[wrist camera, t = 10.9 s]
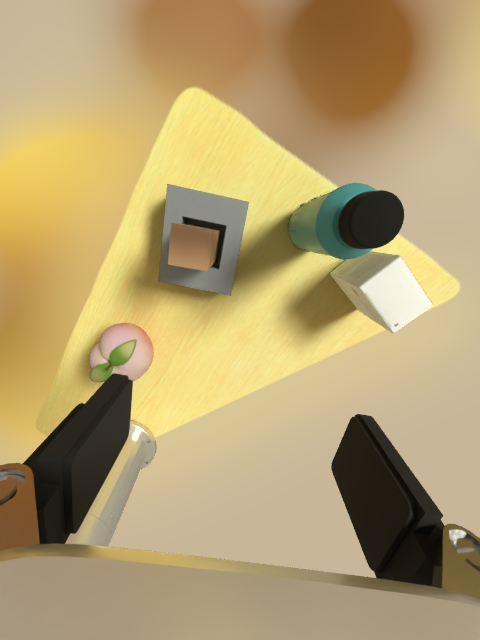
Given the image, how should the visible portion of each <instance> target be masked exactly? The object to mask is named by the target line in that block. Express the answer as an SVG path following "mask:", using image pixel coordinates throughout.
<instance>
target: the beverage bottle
mask: <svg viewBox="0 0 480 640" xmlns="http://www.w3.org/2000/svg"><path fill="white" fill-rule="evenodd" d="M329 192H330V191H329ZM290 217H291V218H290V221H288V222H289V223H288V231H289V236H290V238H291V240H292V242H293V243H294V244H295V245H296V246H297V247H298V248H299V249H300V248H301V249H300V250H303V249H304V251H305V250H306V251H307V250H308V251H309V252H311V251H312V252H315V253H320V254H325V255H330V256H333V257H335V258H339V259H354V258H358V257H361V256H363V255H365V254H366V253H368V252H369V251H371V250H372V249H373V248H378V247H381V246H384V245H386V244H387V243H389V242H390V241H391V240H393V239H394V238H395V236H396V235H397V234H398V232H399V231H400V229H401V227H402V224H403V220H404V209H403V206H402V203H401V201H400V200H399V199H398V197H397V196H395V195H394V194H392V193H390V192H387V191H377V190H375V189H374V188H372V187H371V186H368V185H366V184H361V183H352V184H348V185H344V186H342V187H339V188H337V189H336V190H334V191H332V192H330V193H328V194H325V195H322V196H321V195H320V197H317V198H314V200H313V199H312V201H311V200H310V202H308V203H306V204H304V205H303V204H302V206H301V205H300V207H299V208H297V209H296V210H295V211H294V213H293V214H292V216H290ZM295 245H294V246H295Z"/></svg>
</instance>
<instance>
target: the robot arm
mask: <svg viewBox="0 0 480 640" xmlns="http://www.w3.org/2000/svg"><path fill="white" fill-rule="evenodd" d="M132 385H133V381H132V380H129V377H128V376H127V375H122V374H116V373H113V374H112V375H111V376H110V377H109V378H108V379H107V380H106V381H105V382H104V383H103V384H102V386H101V387H100V388H99V389H98V390H97V391H96V392H95V393H94V395H93V396H92V397H91V398H90V399H89V400H88V401H87V402H86V404H83V403H81V404H79V405H77V406H76V407H75V408H74V409H73V410H72V411H71V413H70V414H69V415H68V416H67V417H66V418H65V419H64V420H63V421H62V422H61V423H60V424H59V425H58V426H57V428H56V429H55V430H54V431H53V432H52V433H51V434H50V435H49V436H48V437H47V438H46V439H45V440H44V442H43V443H42V444H41V445H40V446H39V447H38V448H37V449H36V450H35V451H34V452H33V453H32V455H30V457H29V458H28V459H27V460H26V461H25V462H24V463H23V464H20V463H11V464H10V463H9V464H5V465H0V640H480V538H478V537H477V536H476V535H475V534H473V533H472V532H470V531H469V530H467V529H465V528H463V527H461V526H458V525H456V524H447V525H445V526H444V524H443V523H442V521H441V518H442V517H443V515H442V513H441V512H440V510H439V509H438V508H437V506H436V505H435V503H434V502H433V501H432V499H431V498H430V496H429V495H428V494H427V492H426V491H425V489H424V488H423V487H422V485H421V484H420V482H419V481H418V480H417V478H416V477H415V476H414V474H413V473H412V471H411V470H410V469H409V467H408V466H407V465H406V463H405V462H404V460H403V459H402V457H401V456H400V455H399V453H398V452H397V450H396V449H395V448H394V446H393V445H392V443H391V442H390V441H389V439H388V438H387V437H386V435H385V434H384V432H383V431H382V430H381V428H380V427H379V425H378V424H377V423H376V421H375V420H374V418H372V417H371V416H367V415H361V414H357V415H355V417H352V418H351V420H350V422H349V424H348V426H347V429H346V431H345V433H344V436H343V438H342V440H341V443H340V445H339V448H338V450H337V452H336V454H335V457H334V459H333V461H332V472H333V475H334V478H335V480H336V483H337V485H338V488H339V490H340V493H341V495H342V498H343V501H344V503H345V506H346V509H347V511H348V514H349V516H350V519H351V522H352V524H353V526H354V529H355V532H356V535H357V537H358V539H359V542H360V545H361V547H362V550H363V552H364V555H365V557H366V560H367V563H368V565H369V567H370V568H371V569H372V570H373V571H374V572H375V575H376V577H377V578H370V577H362V576H354V575H346V574H338V573H331V572H323V571H315V570H307V569H299V568H291V567H283V566H275V565H266V564H258V563H250V562H241V561H233V560H225V559H216V558H207V557H199V556H190V555H182V554H173V553H164V552H155V551H146V550H137V549H127V548H115V547H108V545H109V543H110V541H111V538H112V536H113V534H114V531H115V529H116V527H117V524H118V522H119V519H120V517H121V515H122V512H123V510H124V507H125V505H126V503H127V500H128V498H129V495H130V493H131V491H132V488H133V486H134V483H135V481H136V479H137V476H138V474H139V471H140V469H142V468H145V467H146V466H147V465H149V464H150V463H151V461H152V460H153V458H154V456H155V453H156V441H155V439H154V437H153V435H152V434H151V432H150V431H149V430H148V429H147V428H145V427H144V426H143V425H141V424H139V423H137V422H134V421H132V420H130V415H131V400H132Z"/></svg>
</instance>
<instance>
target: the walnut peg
mask: <svg viewBox="0 0 480 640" xmlns="http://www.w3.org/2000/svg"><path fill="white" fill-rule="evenodd" d="M220 236H221V231H220V230H214V229H209V228H204V227H199V226H193V225H186V224H178V223H171V233H170V245H169V257H168V265H174V266H179V267H185V268H190V269H196V270H202V271H208V270H209V269H210V267H211V266H212V265H213V264H214V262H215V261H216V260H217V256H218V249H219V242H220Z"/></svg>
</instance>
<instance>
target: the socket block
mask: <svg viewBox="0 0 480 640" xmlns="http://www.w3.org/2000/svg"><path fill="white" fill-rule="evenodd" d="M248 204H249V202H247V201H242V200H237V199H233V198H228V197H224V196H219V195H215V194H210V193H206V192H201V191H197V190H192V189H188V188H183V187H179V186H174V185H170V184H167V194H166V205H165V215H164V226H163V237H162V248H161V259H160V270H159V281H158V282H164V283H169V284H174V285H179V286H184V287H189V288H194V289H200V290H205V291H210V292H215V293H220V294H225V295H230V296H231V292H232V287H233V282H234V277H235V272H236V266H237V261H238V256H239V251H240V246H241V241H242V235H243V230H244V225H245V220H246V215H247V210H248ZM171 223H178V224H186V225H193V226H199V227H204V228H209V229H214V230H220V231H221V236H220V242H219V249H218V256H217V260H216V261H215V262H214V264H213V265H212V266H211V267H210V269H209V270H208V271H202V270H196V269H190V268H185V267H179V266H174V265H168V257H169V245H170V233H171Z"/></svg>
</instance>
